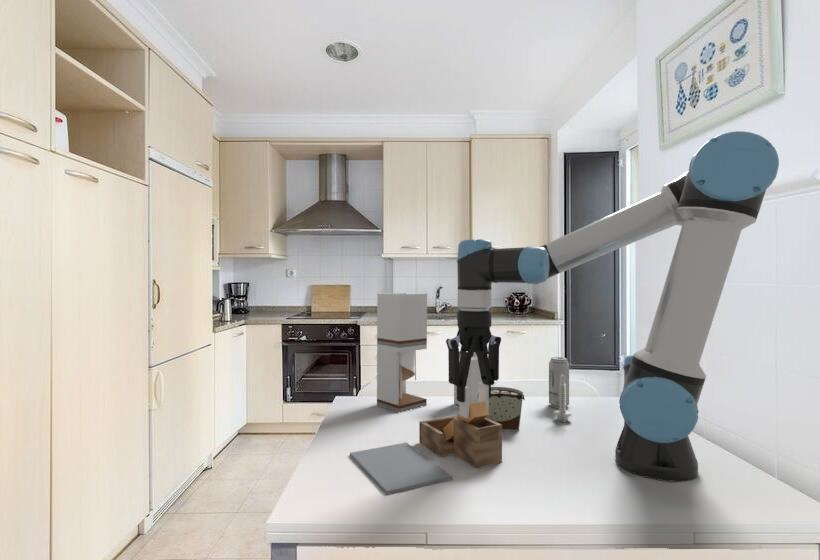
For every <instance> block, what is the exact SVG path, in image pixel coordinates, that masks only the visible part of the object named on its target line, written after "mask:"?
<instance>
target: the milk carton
mask: <svg viewBox="0 0 820 560" xmlns="http://www.w3.org/2000/svg"><path fill="white" fill-rule="evenodd" d="M466 352H468V351H466ZM460 357H461V354H460V351H459V362H460ZM479 383H483V382H482V379H481V374H480V369H479V364H478V359H477V354H476V353H475V352H474V354H473V357H472V358H471V363H470V368H469V373H468V378H467V384H466V387H469V404H473V403H479V397H478V399H477V396H478V392H479ZM453 404H454V405H458V406H459V401H457V387H456V385H453Z"/></svg>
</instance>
